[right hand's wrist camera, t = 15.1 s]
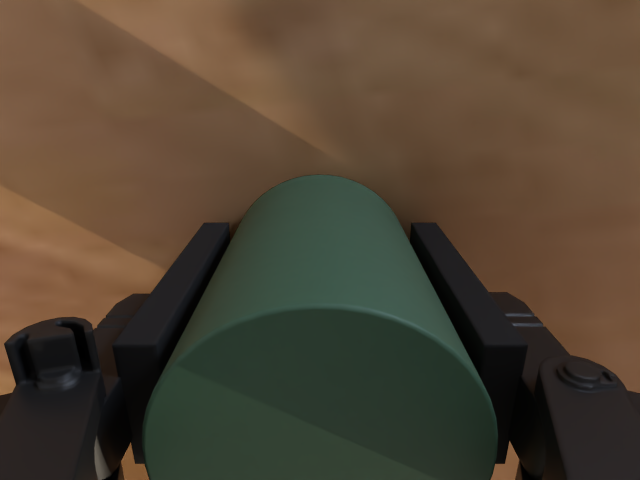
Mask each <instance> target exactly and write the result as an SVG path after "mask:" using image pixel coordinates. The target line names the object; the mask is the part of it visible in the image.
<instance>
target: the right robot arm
mask: <svg viewBox="0 0 640 480" xmlns="http://www.w3.org/2000/svg"><path fill="white" fill-rule="evenodd" d="M229 244H230V235H229V223H204V224H203V225H202V226H201V228H200V229H199V230H198V232H197V233H196V234H195V236H194V237H193V238H192V240H191V241H190V242H189V243H188V245H187V246H186V247H185V249H184V250H183V251H182V253H181V254H180V255H179V257H178V258H177V259H176V261H175V262H174V263H173V265H172V266H171V267H170V269H169V270H168V271H167V273H166V274H165V275H164V276H163V278H162V279H161V280H160V282H159V283H158V284H157V286H156V287H155V288H154V290H153V291H152V292H151V294H132V295H130V296H129V297H127V298H125V299H124V300H122V301H120V302H119V303H117V304H116V305H115V306H114V307H113V308H112V309H111V311H110V312H109V313H108V314H107V315H106V318H104V319H103V320H102V321H101V322H100V323H99V324H98V325H97V328H95V329H94V330H93V328H92V324H91V323H90V322H88V321H87V320H86V319H82V318H77V317H61V318H55V319H50V320H45V321H41V322H39V323H36V324H33V325H31V326H28V327H26V328H24V329H22V330H20V331H19V332H17V333H15V334H14V335H12V336H11V337H10V338H9V339H8V340H7V341H6V342H5V343H4V345H5V349H6V352H7V355H8V359H9V362H10V365H11V369H12V372H13V376H14V379H15V382H16V387H15V389H14V391H13V392H12V393H9V394H5V395H0V480H124V475H123V469H122V464H121V460H122V458H123V456H124V454H125V452H126V450H127V448H128V446H129V444H130V442H131V445H132V450H133V455H134V460H135V464H145V463H144V456H143V449H142V430H143V421H144V417H145V412H146V407H147V405H148V402H149V400H150V397H151V395H152V392H153V390H154V388H155V386H156V384H157V382H158V380H159V378H160V376H161V374H162V372H163V370H164V368H165V367H166V365H167V363H168V361H169V359H170V357H171V355H172V353H173V351H174V349H175V347H176V345H177V343H178V342H179V340H180V338H181V336H182V334H183V332H184V330H185V328H186V326H187V324H188V322H189V320H190V319H191V317H192V315H193V313H194V311H195V309H196V307H197V305H198V303H199V301H200V299H201V297H202V295H203V294H204V292H205V290H206V288H207V286H208V284H209V282H210V280H211V278H212V276H213V274H214V272H215V271H216V269H217V267H218V265H219V263H220V261H221V259H222V257H223V255H224V253H225V251H226V249H227V247H228V246H229ZM410 244H411V246H412V248H413V250H414V251H415V253H416V255H417V257H418V259H419V261H420V263H421V265H422V267H423V269H424V271H425V273H426V275H427V276H428V278H429V280H430V282H431V284H432V286H433V288H434V290H435V292H436V294H437V296H438V298H439V300H440V301H441V303H442V305H443V307H444V309H445V311H446V313H447V315H448V317H449V319H450V321H451V323H452V325H453V326H454V328H455V330H456V332H457V334H458V336H459V338H460V340H461V342H462V344H463V346H464V348H465V350H466V351H467V353H468V355H469V357H470V359H471V361H472V363H473V365H474V367H475V369H476V371H477V373H478V375H479V377H480V378H481V380H482V382H483V384H484V386H485V389H486V391H487V393H488V395H489V397H490V399H491V402H492V405H493V409H494V412H495V416H496V421H497V431H498V445H497V458H496V462H495V464H505V460H506V455H507V450H508V445H509V440H510V442H511V444H512V446H513V448H514V450H515V452H516V454H517V456H518V458H519V464H518V469H517V474H516V478H515V480H640V393H635V392H631V391H627V390H626V388H625V386H624V384H623V383H622V382H621V380H620V379H619V378H618V377H617V376H616V375H615V374H614V373H613V372H611V371H610V370H608V369H607V368H605V367H604V366H602V365H600V364H597V363H595V362H593V361H590V360H588V359H584V358H580V357H576V356H572V355H570V354H569V353H568V352H567V351H566V350H565V349H564V347H563V346H562V345H561V344H560V343H559V342H558V341H557V339H556V338H555V337H554V336H553V335H552V334H551V333H550V331H549V330H548V329H547V328H546V327H543V323H542V322H541V321H540V320H539V319H538V318H537V317H535V316H534V313H533V312H532V311H531V310H530V309H529V307H528V306H527V305H526V304H525V303H524V302H523V301H521V300H519V299H517V298H516V297H514V296H512V295H511V294H509V293H507V292H488V291H487V290H486V288H485V287H484V286H483V284H482V283H481V282H480V280H479V279H478V278H477V276H476V275H475V274H474V273H473V271H472V270H471V269H470V267H469V266H468V265H467V263H466V262H465V261H464V259H463V258H462V257H461V255H460V254H459V253H458V251H457V250H456V249H455V247H454V246H453V245H452V243H451V242H450V241H449V239H448V238H447V237H446V236H445V234H444V233H443V232H442V230H441V229H440V228H439V226H438V225H437V224H436V223H411V235H410Z"/></svg>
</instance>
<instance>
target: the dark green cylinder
mask: <svg viewBox="0 0 640 480" xmlns="http://www.w3.org/2000/svg"><path fill="white" fill-rule="evenodd" d="M497 445H498V431H497V421H496V416H495V412H494V409H493V405H492V402H491V399H490V397H489V395H488V393H487V391H486V389H485V386H484V384H483V382H482V380H481V378H480V377H479V375H478V373H477V371H476V369H475V367H474V365H473V363H472V361H471V359H470V357H469V355H468V353H467V351H466V350H465V348H464V346H463V344H462V342H461V340H460V338H459V336H458V334H457V332H456V330H455V328H454V326H453V325H452V323H451V321H450V319H449V317H448V315H447V313H446V311H445V309H444V307H443V305H442V303H441V301H440V300H439V298H438V296H437V294H436V292H435V290H434V288H433V286H432V284H431V282H430V280H429V278H428V276H427V275H426V273H425V271H424V269H423V267H422V265H421V263H420V261H419V259H418V257H417V255H416V253H415V251H414V250H413V248H412V246H411V244H410V242H409V240H408V238H407V236H406V234H405V232H404V230H403V228H402V226H401V225H400V223H399V221H398V219H397V217H396V215H395V214H394V212H393V211H392V209H391V208H390V207H389V206H388V205H387V204H386V202H385V201H384V200H383V199H382V198H381V197H379V196H378V195H377V194H376V193H375V192H373V191H372V190H370V189H368V188H367V187H365V186H364V185H361V184H359V183H357V182H355V181H352V180H349V179H346V178H343V177H337V176H332V175H309V176H302V177H298V178H294V179H291V180H288V181H285V182H283V183H281V184H279V185H277V186H275V187H273V188H271V189H270V190H269V191H267V192H266V193H264V194H263V195H262V196H261V197H260V198H258V199H257V200H256V201H255V202H254V203H253V205H252V206H251V207H250V208H249V210H248V211H247V212H246V214H245V216H244V217H243V219H242V221H241V222H240V224H239V226H238V228H237V230H236V232H235V234H234V236H233V238H232V240H231V242H230V244H229V246H228V247H227V249H226V251H225V253H224V255H223V257H222V259H221V261H220V263H219V265H218V267H217V269H216V271H215V272H214V274H213V276H212V278H211V280H210V282H209V284H208V286H207V288H206V290H205V292H204V294H203V295H202V297H201V299H200V301H199V303H198V305H197V307H196V309H195V311H194V313H193V315H192V317H191V319H190V320H189V322H188V324H187V326H186V328H185V330H184V332H183V334H182V336H181V338H180V340H179V342H178V343H177V345H176V347H175V349H174V351H173V353H172V355H171V357H170V359H169V361H168V363H167V365H166V367H165V368H164V370H163V372H162V374H161V376H160V378H159V380H158V382H157V384H156V386H155V388H154V390H153V392H152V395H151V397H150V400H149V402H148V405H147V407H146V412H145V417H144V421H143V430H142V449H143V456H144V463H145V467H146V470H147V473H148V477H149V480H490V479H491V477H492V474H493V470H494V466H495V462H496V458H497Z"/></svg>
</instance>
